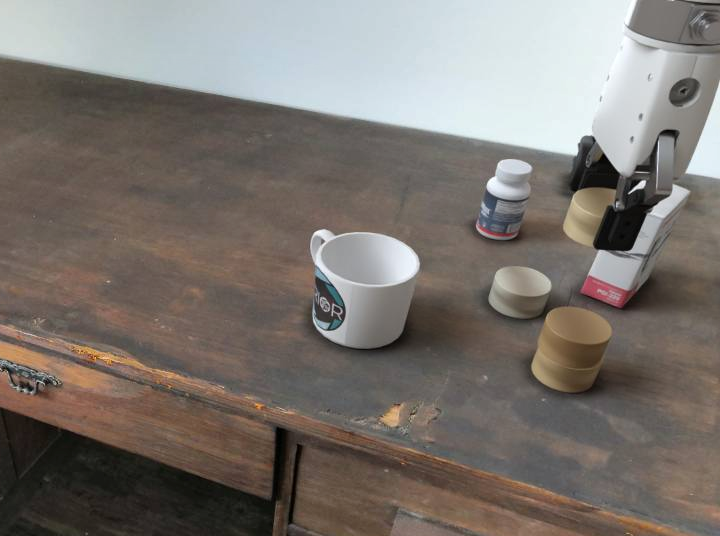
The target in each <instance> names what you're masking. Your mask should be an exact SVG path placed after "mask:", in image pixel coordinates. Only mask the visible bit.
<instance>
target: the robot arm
mask: <svg viewBox="0 0 720 536" xmlns="http://www.w3.org/2000/svg"><path fill="white" fill-rule="evenodd" d="M626 14H627V15H626V17H625V19H624V23H623V25H622V28H621V30H622V31H621V32H622V33H623V34H624V35H625V36H624V38H623V39H622V42H621V45H620V47H619V49H618V51H617V53H616V56H615V58H614V61H613V63H612V66H611V68H610V69H609V70H610V71H609V73H608V75H607V77H606V80H605V83H604V86H603V88H602V91H601V94H600V97H599V98H598V99H599V100H598V102H597V106H596V109H595V112H594V116H593V118H592V119H593V120H592V123H591V133H592V135H593V136H594V137H592V141H593V148H592V149H591V151H590V153H589V155H588V156H587V159H586V167H590V168H591V169H585V170H584V173H583V176H582V179H581V181H580V184H579V187H578V190H576V192H577V191H579V190H582V189H585V188H594V187H598V188H609V189H614V190H616V194H615V199H614V203H613V205H608V206H607V208H606V211H605V213H604V216H603V218H602V221H601V224H600V226H599V229H598V231H597V234H596V236H595V239H594V242H593V246H594V248H593V249H595V250H596V251H599V250H610V251H630V250H631V249H632V248H633V246H634V244H635V241H636V239H637V237H638V234H639V232H640V230H641V227H642V225H643V223H644V220H645V218H646V216H647V213H651V211H652V210H653V207H654V206H656V205H657V204H658V203H659V202H660V201H662V200H664V199H666V198H668V197H669V196H670V195H671V193H672V190H673V184H674V181H678V180H680V179H682V178H683V177H684V175H685V174H686V172H687V170H688V168H689V166H690V163H691V162H692V159H693V157H694V154H695V152H696V150H697V147H698V144H699V141H700V139H701V136H702V134H703V132H704V130H705V129H704V128H705V126H706V123H707V121H708V118H709V116H710V112H711V110H712V107H713V104H714V101H715V98H716V95H717V91H718V88H719V85H720V0H631V3H630V6H629V8H628V10H627V13H626ZM637 165H650V170H649V172H635V168H636V166H637ZM615 169H616V170H615ZM631 180H643V181H646V183H645V186H644V188H643V189H636V190H634V191H633V192H631V193H630V194H629V189H630V184H631Z"/></svg>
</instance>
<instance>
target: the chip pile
mask: <svg viewBox="0 0 720 536" xmlns="http://www.w3.org/2000/svg"><path fill="white" fill-rule="evenodd" d="M612 335H613V330H612V326H611V325H610V323H609V322H608V321H607V320H606V319H605V318H604V317H603V316H601V315H599V314H597V313H596V312H594V311H591V310H588V309H586V308H583V307H577V306H560V307H555V308H553V309H552V310H550V311H549V312H548V313H547V315H546V317H545V319H544V323H543V324H542V327H541V330H540V333H539V336H538V338H537V348H536V351H535V353H534V356H533V359H532V362H531V366H530V367H531V372H532V374H533V376H534V377H535V378H536V379H537V380H538V381H539V382H540V383H541V384H543V385H544V386H546V387H548V388H549V389H552V390H555V391H559V392H563V393H569V394H571V393H573V394H574V393H575V394H576V393H582V392H585V391H587V390H589V389H591V387H593V385H594V383H595V381H596V378H597V377H598V374H599V372H600V370H601V367H602V365H603V362H604V359H605V356H604V354H605V352H606V349H607V348H608V345H609V343H610V340H611V338H612Z"/></svg>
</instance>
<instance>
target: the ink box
mask: <svg viewBox="0 0 720 536" xmlns="http://www.w3.org/2000/svg"><path fill="white" fill-rule="evenodd" d="M645 183H646V181H643V180H642V181H641V182H640V183H639V184H638V185H637V186H635V187H634V188H633V189H632V190H631V191H630V192H629V194H630V193H631V192H633V191H634V190H636V189H643V188H644V186H645ZM691 192H692V190H691V189H687V188H685V187H682V186H680V185H678V184H675V183H673V190H672V193H671V195H670V196H669V197H668V198H666V199H664V200H662V201H660V202H659V203H658V204H657V205H656V206H654V207H653V210H652V211H651V213H647V216H646V218H645V220H644V223H643V225H642V227H641V230H640V232H639V234H638V237H637V239H636V241H635V244H634V246H633V248H632V249H631V250H630V251H610V250H597V254H596V256H595V258H594V260H593V263H592V265H591V267H590V269H589V271H588V274H587V276H586V278H585V281H584V283H583V285H582V287H581V290H580V294H582V295H585V296H588V297H591V298H593V299H596V300H598V301H601V302H603V303H606V304H608V305H610V306H614V307H616V308H618V309H622V308H623V307H625V305H626V304H627V302H629V300H630V299H631V298H632V297H633V296H634V295H635V294H636V293H637V292H638V290H639V289H641V287H642V285H644V284H645V283H646V281H647V280H648V279H649V277H650V276H651V273H652V271H653V269H654V267H655V265H656V263H657V261H658V259H659V257H660V255H661V252H662V251H663V248H664V247H665V244H666V243H667V241H668V238H669V236H670V235H671V233H672V230H673V228H674V227H675V224H676V222H677V220H678V218H679V217H680V215H681V213H682V210H683V208H684V206H685V204H686V203H687V200H688V199H689V196H690V194H691Z"/></svg>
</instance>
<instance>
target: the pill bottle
mask: <svg viewBox="0 0 720 536" xmlns="http://www.w3.org/2000/svg"><path fill="white" fill-rule="evenodd" d="M495 169H496V170H495V174H494V176H492V177H491V178H490V179H489V180H488V181H487V184H486V186H485V190H484V193H483V198H482V201H481V206H480V209H479V212H478V217H477V218H476V219H477V220H476V223H475V227H476V230H477V232H478V233H479V234H480V235H482V236H484V237H485V238H488V239H492V240H496V241H508V240H512V239H514V238H515V237H517V236H518V234H519V232H520V228H521V225H522V222H523V218H524V215H525V211H526V208H527V205H528V203H529V199H530V196H531V192H532V188H531V185H530V183H529V180H530V179H531V176H532V172H533V167H532V165H531V164H529V163H528V162H526V161H524V160H520V159H515V158H507V159H506V158H505V159H502V160H499V162H498V163H497V166H496V168H495Z"/></svg>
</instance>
